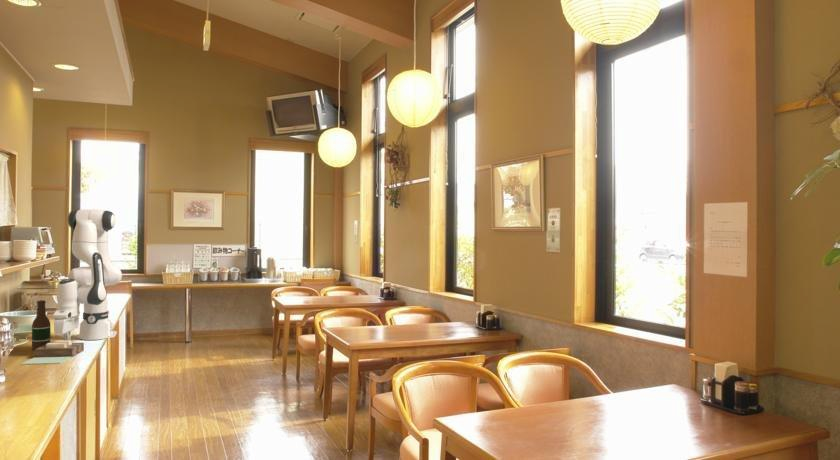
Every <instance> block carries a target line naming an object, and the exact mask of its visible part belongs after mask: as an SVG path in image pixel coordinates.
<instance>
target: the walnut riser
mask: <svg viewBox="0 0 840 460" xmlns="http://www.w3.org/2000/svg"><path fill="white" fill-rule="evenodd" d="M84 346H85V343H84V342H72V345H70V346H68V347H66V348H46V345H44V346H41V347H39V348H37V349H35V350H34V358H38V357H71V358H73V357H75V356H77V355H79V354H80V353H83V352H84V349H85V347H84Z"/></svg>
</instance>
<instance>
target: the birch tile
mask: <svg viewBox="0 0 840 460" xmlns="http://www.w3.org/2000/svg"><path fill="white" fill-rule="evenodd" d="M72 343H73V342H72V340H71V339H70V340H66V341H64V340H52V341H50V343H48V344H46V348H66V347H68V346H70V345H72Z"/></svg>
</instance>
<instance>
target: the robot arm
mask: <svg viewBox="0 0 840 460" xmlns="http://www.w3.org/2000/svg"><path fill="white" fill-rule="evenodd" d="M115 216H116V215H115V214H114V213H113V212H112V211H110V210H102V209H101V210H100V209H95V208H94V209H93V208H91V209H73V210H71V211H70V212H68V216H67V224H68V227H70V229H72V230H73V233H72V234H73V235H72V241H71V252H72V255H73V256H74V257H75V258H76V259H77V260H80V261H82V262H83V263H86V264H87V265H88V266H79V267H75V268H71V270H70V271H69V272H68V275H67V278H66V279H62V280H60V281H58V283H57V287H56V300H57V305H56V310H55V311H54V313H53V314H52V319H53V332H54V335H56V336H58V335H59V336H60V335H62V337H63V341H66V340H71V335H72V331H73V330H76V329H78V328H79V332H78V333H79V335H77V336H76V339H80V340H84V341H93V340H94V341H97V340H104V339H111V338H115V337H116V336H117V334H118V331H117V330H113V325H114V324H113V322H112V321H111V320H110V319H109V314H110V310H108V299H107V295H108V294H107V293H108V292H107V288H106V287H109V286H114V285H118V284H119V283H120V282H121V281H122V278H123V272H122V270H121V269H120V268H119V267H118V266H117V265H115V264H114V263H113V262H112V261H111V259H110V255H109V247H108V246H109V244H108V243H109V236H108V235H109V233H108V232H109V231H111V230H112V229H113V228H114V227H115V225H116V217H115ZM78 304H81V305H83V312H82V321H81V322H80V319H79V314H78V313H79V312H78V311H79V310H78Z"/></svg>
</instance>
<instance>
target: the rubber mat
mask: <svg viewBox="0 0 840 460" xmlns="http://www.w3.org/2000/svg"><path fill="white" fill-rule="evenodd" d="M71 358H72V357H38V358H35V357H32V358H30V359H28V360H26V361H23V362H22V363H21V366H22V365H53V364H54V365H55V364H56V365H57V364H58V365H59V364H62V363H64V362H66V361H68V360H69V359H71Z"/></svg>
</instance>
